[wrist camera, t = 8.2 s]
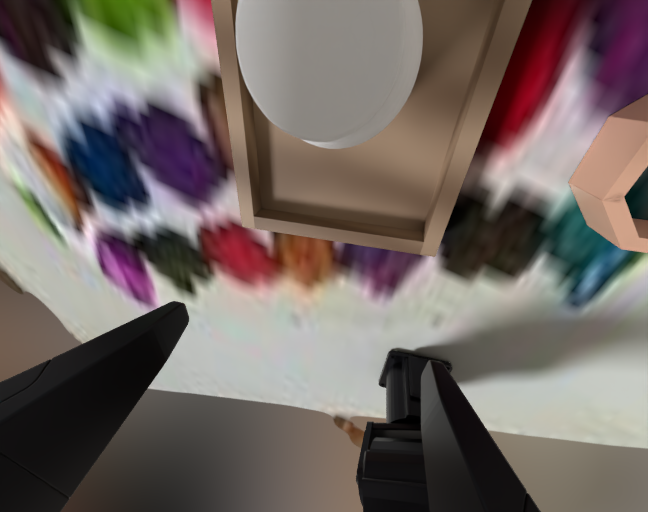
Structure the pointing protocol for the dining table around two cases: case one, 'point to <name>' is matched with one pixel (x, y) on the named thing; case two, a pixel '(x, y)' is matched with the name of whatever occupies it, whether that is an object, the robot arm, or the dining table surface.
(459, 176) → the tray
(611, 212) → the tan octagonal bowl
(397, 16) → the supplement bottle
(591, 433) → the dining table surface
